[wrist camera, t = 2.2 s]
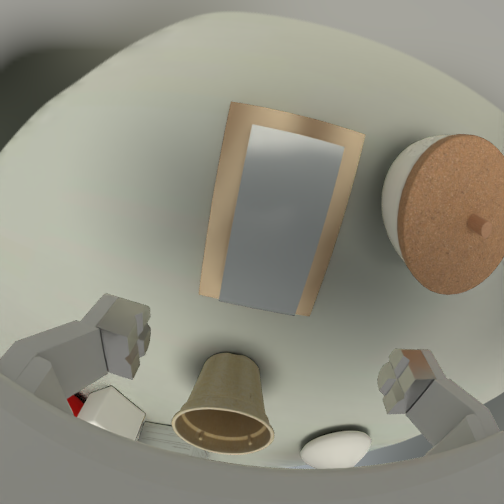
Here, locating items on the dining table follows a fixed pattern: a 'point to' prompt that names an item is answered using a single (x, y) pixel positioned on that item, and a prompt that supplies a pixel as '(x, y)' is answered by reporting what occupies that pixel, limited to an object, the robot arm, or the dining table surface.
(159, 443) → the supplement box
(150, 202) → the dining table surface
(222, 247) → the wooden board
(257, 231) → the slate tile
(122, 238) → the dining table surface
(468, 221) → the lidded jar
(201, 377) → the flower pot
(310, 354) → the dining table surface
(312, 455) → the flower in vase
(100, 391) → the medicine bottle
